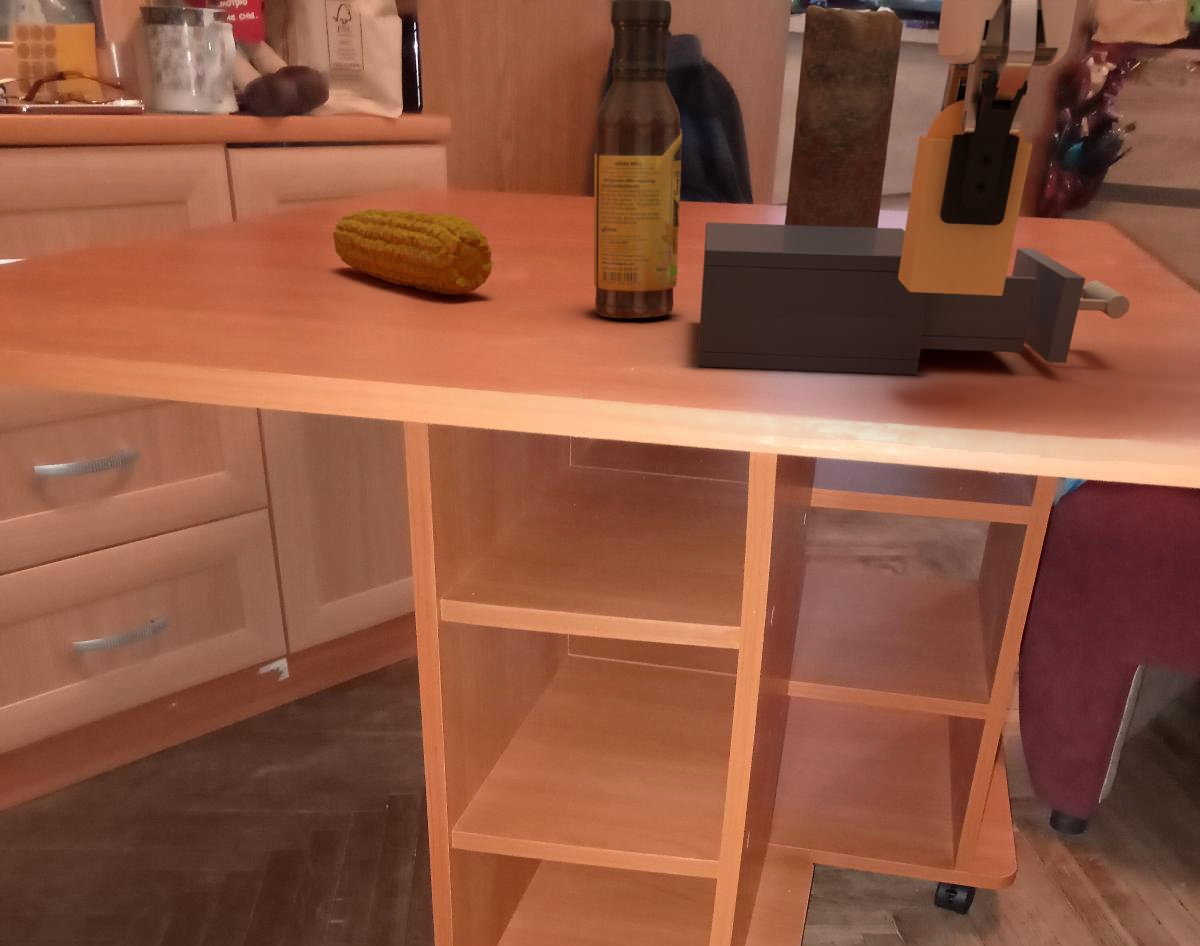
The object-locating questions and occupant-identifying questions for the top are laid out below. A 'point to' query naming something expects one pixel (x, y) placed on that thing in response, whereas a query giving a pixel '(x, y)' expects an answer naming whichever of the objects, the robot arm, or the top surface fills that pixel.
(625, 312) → the sauce bottle
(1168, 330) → the top surface
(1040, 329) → the drawer
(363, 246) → the food
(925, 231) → the orange container
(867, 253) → the cabinet
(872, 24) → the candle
